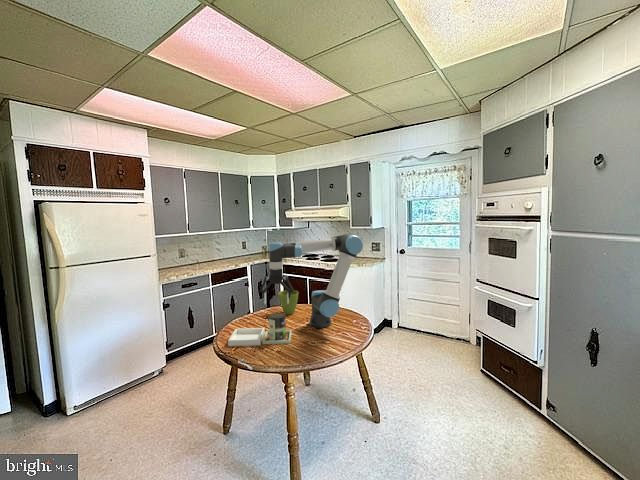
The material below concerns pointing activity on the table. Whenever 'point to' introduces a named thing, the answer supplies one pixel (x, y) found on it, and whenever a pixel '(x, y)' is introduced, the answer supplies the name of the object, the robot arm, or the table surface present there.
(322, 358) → the table surface
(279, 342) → the frame
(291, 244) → the robot arm
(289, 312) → the flower pot
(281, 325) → the coffee can
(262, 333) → the bin
